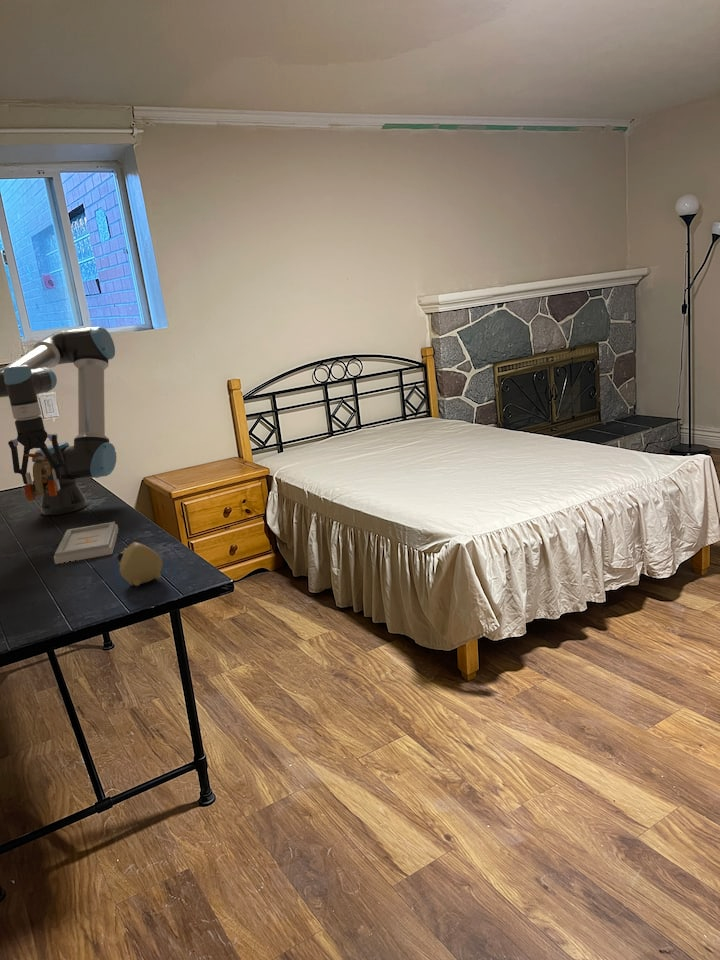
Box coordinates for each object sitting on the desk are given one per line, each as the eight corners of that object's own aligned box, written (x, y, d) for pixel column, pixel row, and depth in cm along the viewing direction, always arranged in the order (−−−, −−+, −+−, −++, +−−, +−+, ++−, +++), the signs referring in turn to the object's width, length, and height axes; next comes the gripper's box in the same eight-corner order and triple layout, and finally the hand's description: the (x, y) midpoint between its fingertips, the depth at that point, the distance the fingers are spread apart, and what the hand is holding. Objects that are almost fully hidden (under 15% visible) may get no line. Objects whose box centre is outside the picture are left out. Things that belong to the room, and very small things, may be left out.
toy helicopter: (26, 503, 205) (15, 458, 201) (36, 487, 224) (27, 445, 221) (56, 498, 207) (45, 453, 203) (63, 482, 226) (54, 441, 223)
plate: (67, 539, 213) (65, 529, 212) (118, 530, 216) (116, 521, 215) (55, 564, 191) (52, 554, 190) (112, 553, 194) (110, 543, 193)
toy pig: (154, 570, 178) (147, 530, 175) (171, 583, 168) (163, 541, 165) (116, 582, 172) (107, 541, 170) (130, 596, 163) (121, 553, 160)
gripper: (-11, 424, 203) (8, 500, 209) (60, 414, 207) (77, 489, 213) (-5, 421, 210) (13, 494, 216) (64, 411, 214) (80, 483, 220)
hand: (45, 491), depth 214 cm, fingers closed on toy helicopter, 7 cm apart
